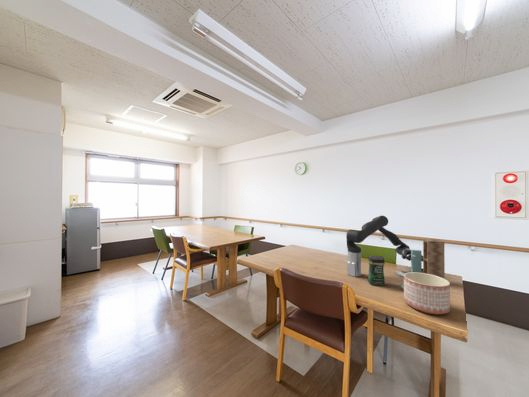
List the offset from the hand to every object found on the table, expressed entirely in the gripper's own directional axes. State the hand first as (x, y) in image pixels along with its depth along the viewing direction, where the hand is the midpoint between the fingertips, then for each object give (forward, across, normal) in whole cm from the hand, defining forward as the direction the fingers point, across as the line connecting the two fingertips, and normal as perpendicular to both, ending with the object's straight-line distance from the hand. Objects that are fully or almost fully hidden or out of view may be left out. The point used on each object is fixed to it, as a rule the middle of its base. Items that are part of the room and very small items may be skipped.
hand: (416, 260), depth 152 cm
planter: (+47, -11, +12) cm, 50 cm away
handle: (+28, -8, +13) cm, 31 cm away
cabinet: (+3, +2, +12) cm, 13 cm away
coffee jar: (+22, -30, +12) cm, 39 cm away
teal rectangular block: (0, 0, +11) cm, 11 cm away
